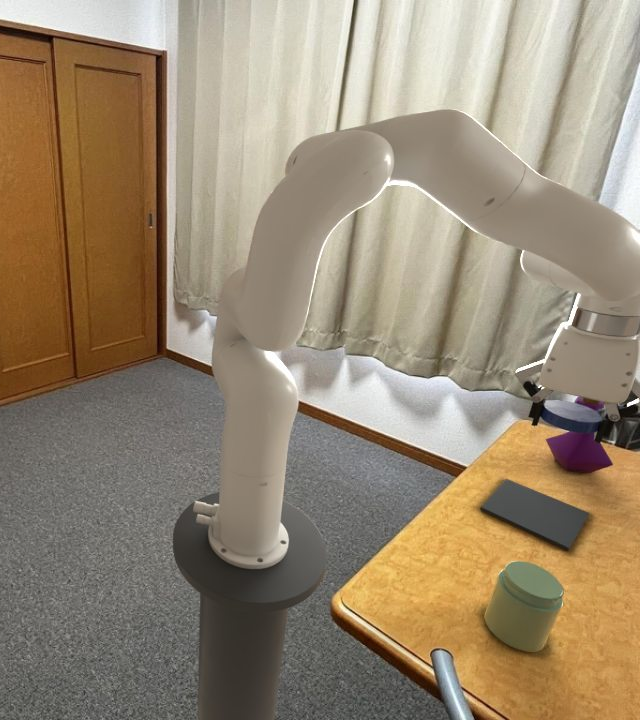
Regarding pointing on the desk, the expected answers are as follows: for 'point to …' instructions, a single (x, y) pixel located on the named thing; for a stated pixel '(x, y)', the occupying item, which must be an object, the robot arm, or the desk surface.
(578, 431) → the lid
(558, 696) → the desk surface
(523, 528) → the plate
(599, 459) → the perfume bottle
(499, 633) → the jar
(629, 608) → the desk surface
